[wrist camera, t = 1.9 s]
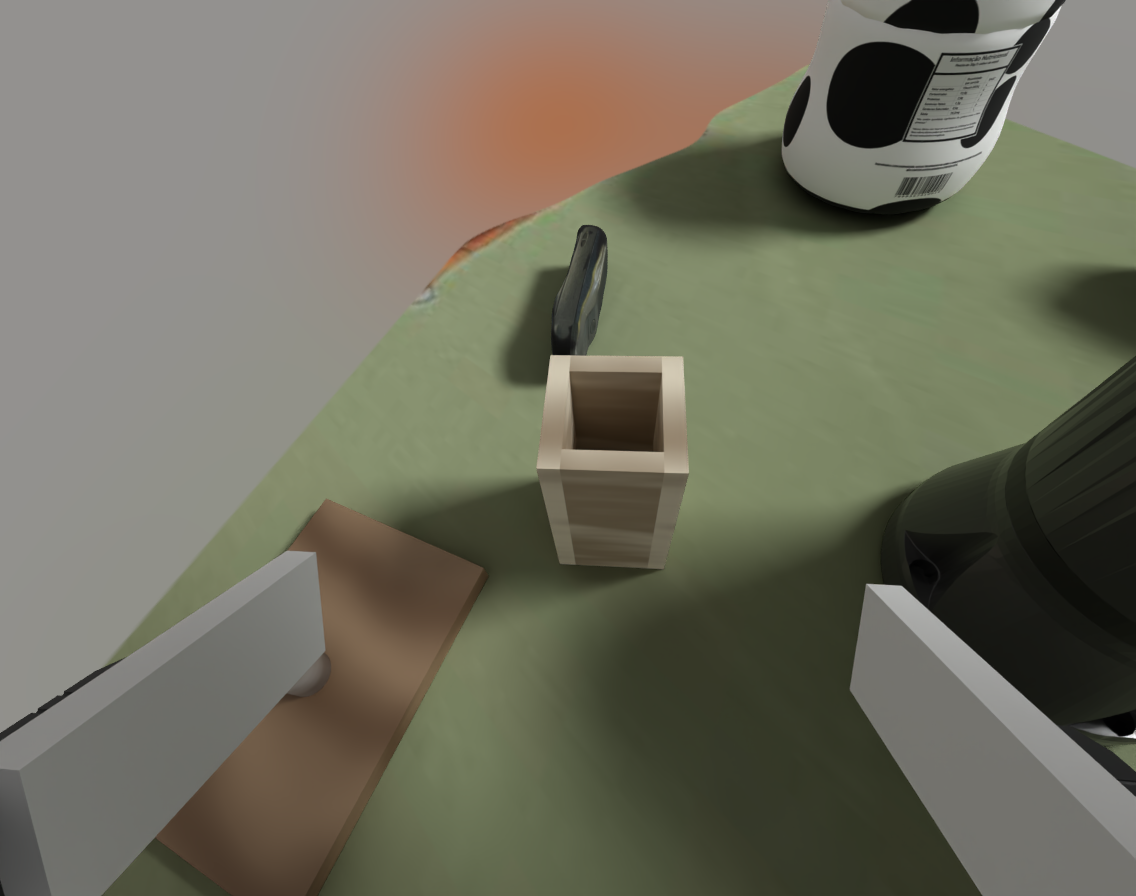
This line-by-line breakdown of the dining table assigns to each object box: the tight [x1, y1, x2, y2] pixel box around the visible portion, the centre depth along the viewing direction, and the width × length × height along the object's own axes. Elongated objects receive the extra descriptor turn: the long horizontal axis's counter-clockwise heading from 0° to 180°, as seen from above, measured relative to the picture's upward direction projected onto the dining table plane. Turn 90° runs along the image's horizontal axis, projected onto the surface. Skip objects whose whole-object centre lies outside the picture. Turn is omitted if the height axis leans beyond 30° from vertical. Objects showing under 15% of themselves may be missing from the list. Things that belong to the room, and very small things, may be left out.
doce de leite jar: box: [782, 0, 1065, 215], centre depth 43 cm, size 17×17×18 cm
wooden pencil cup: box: [536, 355, 689, 569], centre depth 29 cm, size 6×6×12 cm
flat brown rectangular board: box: [155, 499, 489, 896], centre depth 26 cm, size 18×12×9 cm, turn 156°
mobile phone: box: [551, 225, 608, 356], centre depth 41 cm, size 5×3×15 cm
